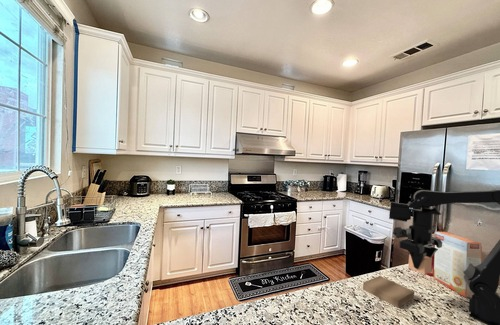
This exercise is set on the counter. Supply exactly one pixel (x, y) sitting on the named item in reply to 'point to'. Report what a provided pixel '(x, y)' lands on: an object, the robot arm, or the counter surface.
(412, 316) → the counter surface
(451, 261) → the cracker box
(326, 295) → the counter surface
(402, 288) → the base slab
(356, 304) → the counter surface
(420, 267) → the cube
